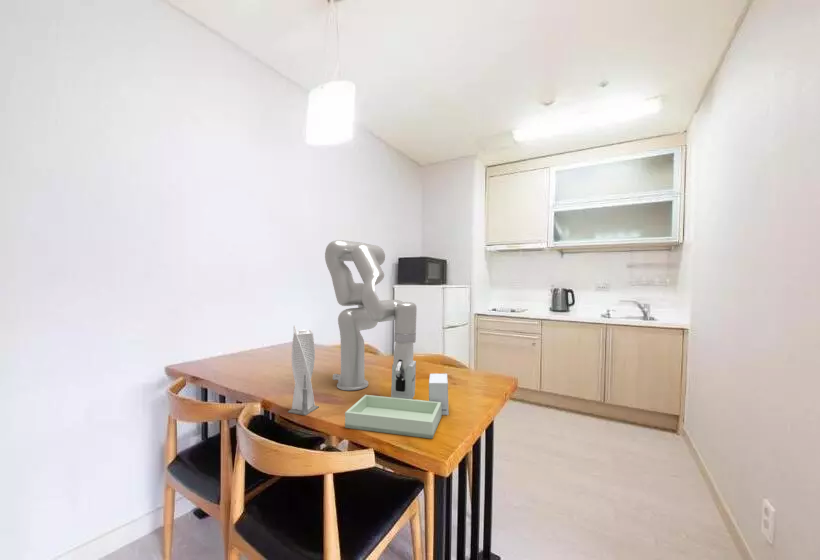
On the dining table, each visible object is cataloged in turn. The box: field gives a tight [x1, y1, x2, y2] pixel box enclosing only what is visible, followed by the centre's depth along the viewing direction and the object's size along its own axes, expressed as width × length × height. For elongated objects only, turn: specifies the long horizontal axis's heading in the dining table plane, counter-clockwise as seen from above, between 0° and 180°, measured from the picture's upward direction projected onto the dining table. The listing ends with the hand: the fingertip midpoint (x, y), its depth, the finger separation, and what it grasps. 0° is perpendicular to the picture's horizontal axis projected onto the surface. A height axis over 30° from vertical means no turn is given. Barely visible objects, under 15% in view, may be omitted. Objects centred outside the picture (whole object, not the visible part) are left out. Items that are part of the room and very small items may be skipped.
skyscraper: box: [287, 325, 320, 416], centre depth 110 cm, size 8×8×28 cm
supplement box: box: [390, 360, 417, 399], centre depth 115 cm, size 7×7×13 cm
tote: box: [344, 394, 443, 440], centre depth 99 cm, size 26×15×4 cm, turn 75°
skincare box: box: [428, 373, 450, 416], centre depth 110 cm, size 10×6×10 cm, turn 174°
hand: (403, 386), depth 115 cm, fingers closed on supplement box, 7 cm apart
